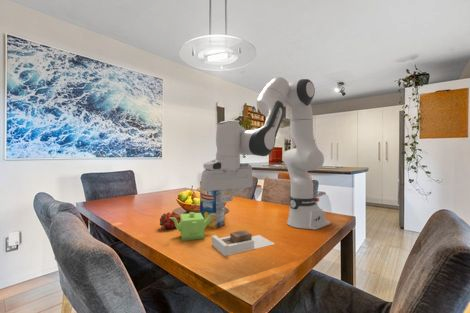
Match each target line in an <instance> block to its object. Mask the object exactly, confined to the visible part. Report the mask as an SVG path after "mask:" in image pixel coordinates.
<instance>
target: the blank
mask: <svg viewBox="0 0 470 313" xmlns="http://www.w3.org/2000/svg"><path fill="white" fill-rule="evenodd" d="M229 236H230V241H225V243H226V244H227V245H228V244H233V243H238V242H242V241H247V240H252V233H250V232H248V231H247V230H245V229H243V230H238V231H233V232H230V235H229Z"/></svg>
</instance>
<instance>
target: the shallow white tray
mask: <svg viewBox="0 0 470 313" xmlns="http://www.w3.org/2000/svg"><path fill="white" fill-rule="evenodd" d="M225 241H230V235H228V236H223V237H218V235H216V234H214V235H211V246H212V247H214V249H215V250H217V251H218V252H219V253H220V255H222V256H224V257H226V256H227V257H228V256H230V255H231V256H232V255H235V254H239V253H243V252H249V251H251V250H256V249H260V248H264V247H269V246H272V245H275V243H274V242H273V241H271V240H270V239H267V238H266V237H264V236H262V235H260V234H258V235H257V234H256V235H253V236H252V240H247V241H242V242H238V243H233V244H228V245H227V244H226V243H225Z"/></svg>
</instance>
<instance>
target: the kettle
mask: <svg viewBox="0 0 470 313" xmlns="http://www.w3.org/2000/svg"><path fill="white" fill-rule="evenodd" d="M179 217H180V222H179V223H178V221H177V219H176V218H175V217H170V219H172V220H173V221H174V223H175V226H176V227H175V228H176V229H177V231H178V232H180V236H181V241H182V242H183V241H184V242H186V241H192V240H193V241H194V240H202V239H203V240H204V239H205V231H206V230H205V229H206V227H208V226H207V224H208V223H209V221H210V220H211V217H208V218H207V219H206V220H205V221H204V218H203V216H202V214H201V213H200V212H193V211H191V212H189V213H180V214H179Z"/></svg>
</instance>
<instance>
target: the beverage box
mask: <svg viewBox="0 0 470 313" xmlns="http://www.w3.org/2000/svg"><path fill="white" fill-rule="evenodd" d="M225 203H226V202H225V201H224V200H223V195H222V193H221V190H214V191H204V190H203V189H202V188H201V180H200V181H199V213H201V214H202V216H203V218H204V221H205V220H206V219H207V218H208V217H211V220H210V221H209V223H208V224H207V226H206V227H210V228H213V229H218V228H221V227H222V226H225V225H226V222H225V221H226V210H225V208H226V204H225Z"/></svg>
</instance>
